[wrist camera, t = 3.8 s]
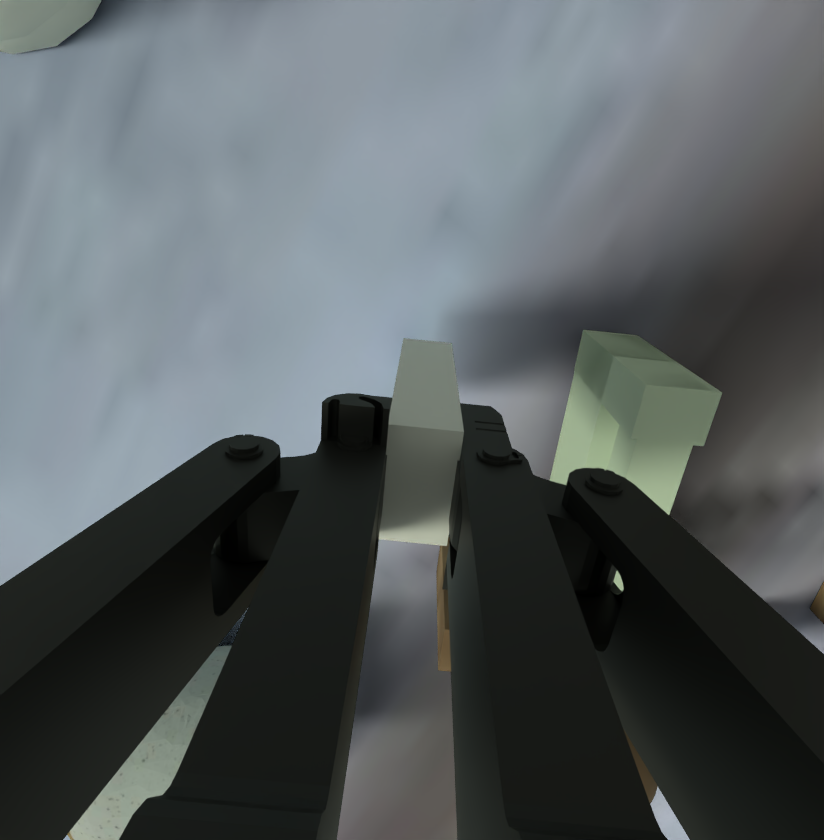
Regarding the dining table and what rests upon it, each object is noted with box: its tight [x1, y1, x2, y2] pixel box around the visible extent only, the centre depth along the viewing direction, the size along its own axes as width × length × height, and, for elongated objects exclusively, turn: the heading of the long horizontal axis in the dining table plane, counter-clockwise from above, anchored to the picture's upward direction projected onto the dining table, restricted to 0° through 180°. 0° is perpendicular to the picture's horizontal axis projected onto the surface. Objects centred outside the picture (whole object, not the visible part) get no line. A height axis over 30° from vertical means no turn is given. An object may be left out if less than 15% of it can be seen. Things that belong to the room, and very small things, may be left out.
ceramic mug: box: [67, 645, 232, 840], centre depth 22 cm, size 11×8×8 cm
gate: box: [550, 330, 722, 591], centre depth 16 cm, size 8×2×6 cm, turn 174°
